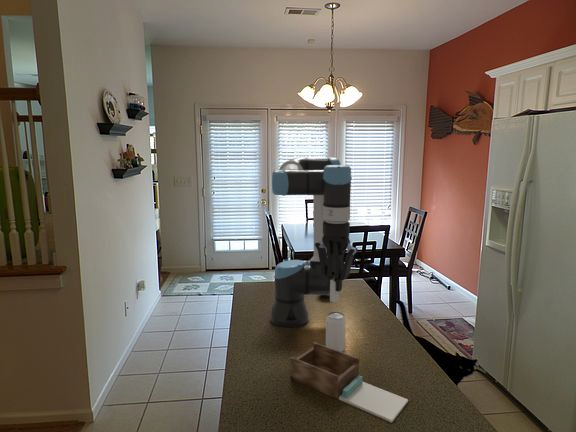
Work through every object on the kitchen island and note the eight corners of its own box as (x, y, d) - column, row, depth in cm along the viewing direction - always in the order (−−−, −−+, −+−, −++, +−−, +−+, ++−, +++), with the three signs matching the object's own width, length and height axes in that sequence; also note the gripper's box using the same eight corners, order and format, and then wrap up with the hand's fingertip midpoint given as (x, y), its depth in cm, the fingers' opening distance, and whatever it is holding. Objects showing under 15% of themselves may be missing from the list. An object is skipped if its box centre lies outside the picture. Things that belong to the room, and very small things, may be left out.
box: (290, 377, 114) (290, 357, 113) (313, 361, 124) (314, 341, 123) (337, 399, 105) (337, 376, 104) (358, 379, 114) (359, 358, 113)
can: (346, 346, 134) (347, 312, 132) (342, 355, 127) (343, 320, 126) (328, 343, 136) (328, 310, 134) (323, 351, 130) (324, 317, 128)
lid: (338, 401, 105) (339, 390, 104) (357, 383, 113) (357, 373, 112) (391, 424, 95) (392, 412, 95) (407, 403, 103) (408, 392, 103)
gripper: (309, 220, 110) (308, 299, 114) (349, 226, 102) (347, 310, 106) (324, 216, 116) (323, 291, 120) (363, 221, 108) (360, 302, 112)
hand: (334, 300), depth 113 cm, fingers closed
